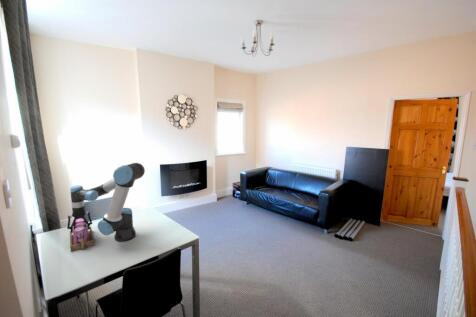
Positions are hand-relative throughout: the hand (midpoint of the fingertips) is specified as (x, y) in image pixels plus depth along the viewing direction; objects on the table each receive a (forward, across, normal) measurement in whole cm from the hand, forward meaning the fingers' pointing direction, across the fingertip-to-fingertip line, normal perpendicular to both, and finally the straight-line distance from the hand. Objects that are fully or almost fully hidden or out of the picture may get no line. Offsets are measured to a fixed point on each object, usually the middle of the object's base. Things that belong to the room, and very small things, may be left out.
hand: (81, 234), depth 173 cm
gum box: (+4, 0, 0) cm, 4 cm away
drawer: (+5, 0, +1) cm, 5 cm away
